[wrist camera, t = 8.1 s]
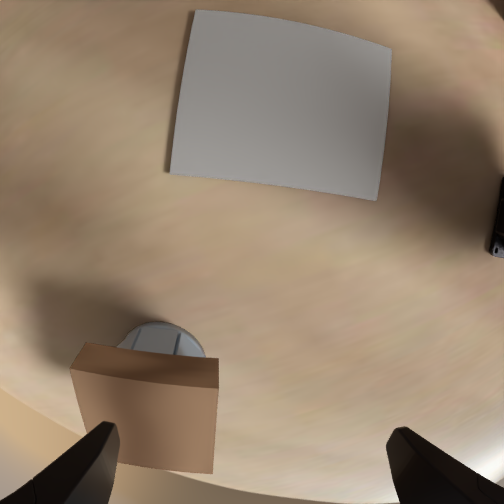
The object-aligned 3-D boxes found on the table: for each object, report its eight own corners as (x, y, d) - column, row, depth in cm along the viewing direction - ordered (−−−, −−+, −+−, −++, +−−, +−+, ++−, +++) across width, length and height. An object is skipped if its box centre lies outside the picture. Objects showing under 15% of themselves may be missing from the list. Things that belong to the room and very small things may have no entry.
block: (218, 358, 15) (218, 388, 13) (212, 445, 17) (212, 473, 15) (86, 342, 15) (69, 368, 12) (104, 431, 16) (95, 457, 14)
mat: (388, 50, 16) (391, 48, 15) (373, 200, 18) (376, 201, 18) (196, 12, 14) (195, 9, 14) (170, 174, 17) (169, 174, 17)
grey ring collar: (209, 325, 20) (206, 367, 15) (204, 395, 21) (202, 440, 17) (119, 315, 19) (96, 353, 15) (125, 385, 21) (110, 427, 16)
